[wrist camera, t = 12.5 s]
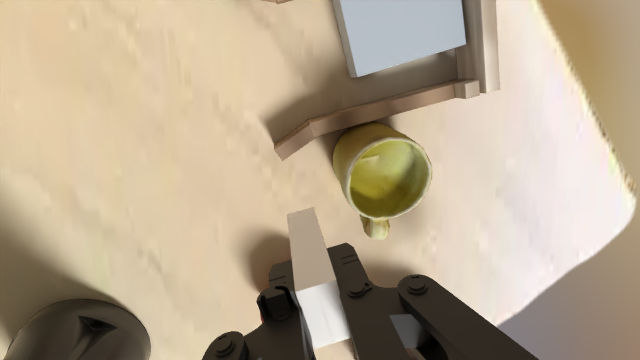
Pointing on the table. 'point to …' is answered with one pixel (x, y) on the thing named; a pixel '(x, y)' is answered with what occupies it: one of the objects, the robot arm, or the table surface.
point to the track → (473, 78)
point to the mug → (380, 174)
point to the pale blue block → (396, 31)
